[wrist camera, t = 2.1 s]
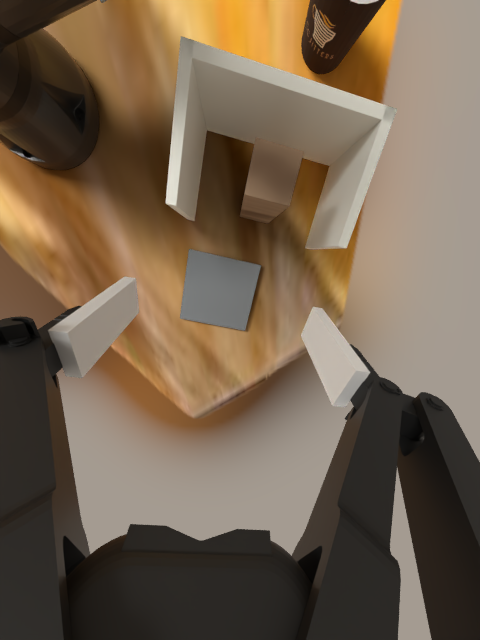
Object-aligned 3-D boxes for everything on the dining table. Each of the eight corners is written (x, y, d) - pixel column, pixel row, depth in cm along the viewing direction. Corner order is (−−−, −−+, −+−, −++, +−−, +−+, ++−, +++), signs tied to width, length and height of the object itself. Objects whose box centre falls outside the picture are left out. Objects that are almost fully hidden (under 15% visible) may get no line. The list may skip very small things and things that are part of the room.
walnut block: (267, 223, 35) (289, 206, 22) (239, 216, 34) (244, 194, 21) (275, 191, 33) (304, 151, 20) (246, 183, 33) (255, 137, 20)
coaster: (180, 317, 40) (179, 318, 39) (189, 249, 36) (189, 248, 35) (244, 329, 41) (245, 330, 40) (260, 265, 37) (260, 265, 36)
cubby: (310, 249, 37) (346, 248, 25) (187, 219, 34) (165, 203, 23) (339, 159, 32) (397, 108, 21) (200, 118, 30) (180, 36, 19)
